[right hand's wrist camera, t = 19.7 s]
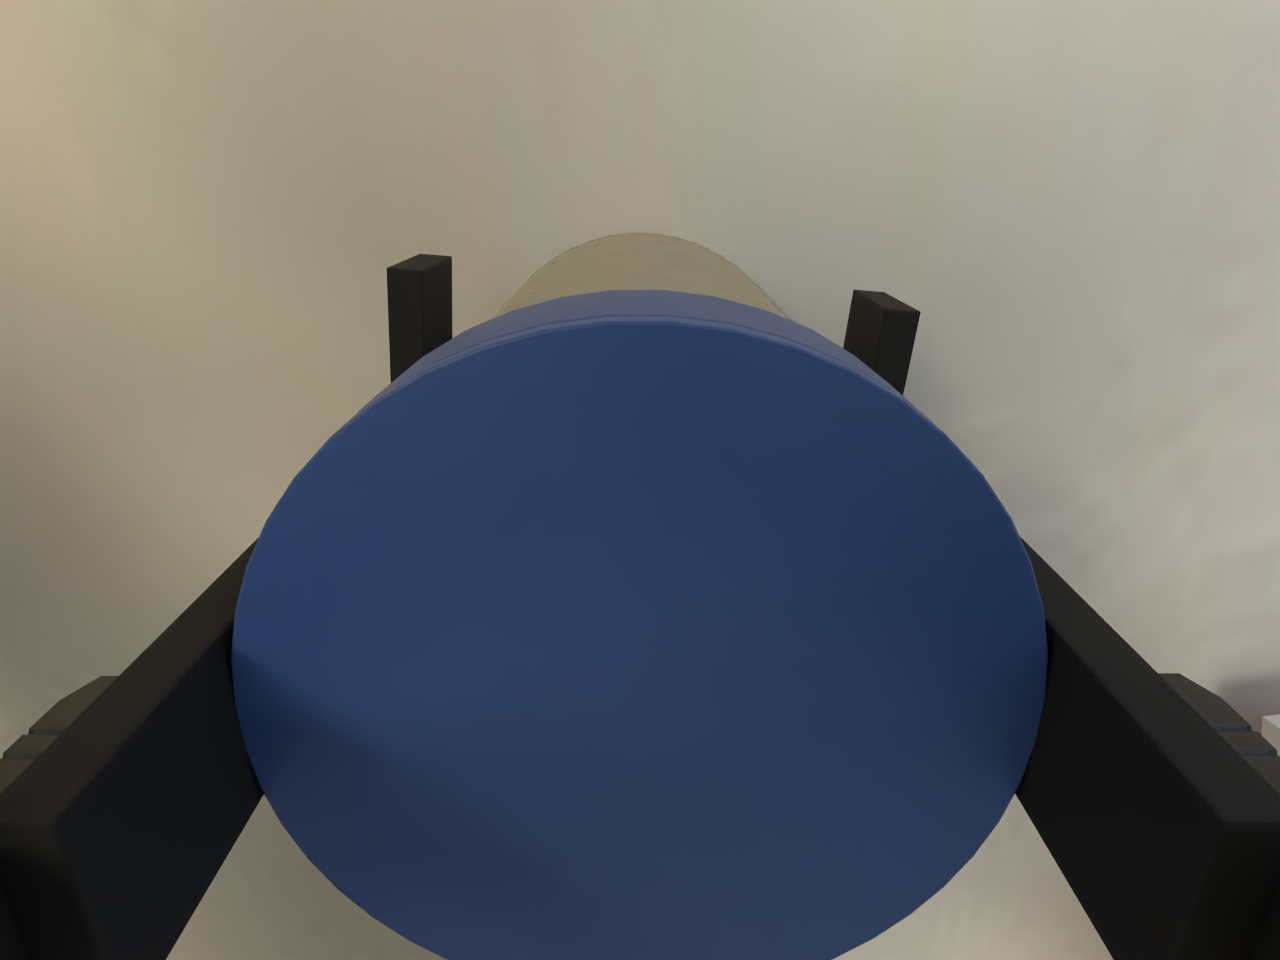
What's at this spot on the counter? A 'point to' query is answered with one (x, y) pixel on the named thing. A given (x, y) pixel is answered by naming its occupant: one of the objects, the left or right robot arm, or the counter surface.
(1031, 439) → the counter surface
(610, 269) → the jar
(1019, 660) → the lid
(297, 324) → the counter surface
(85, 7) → the counter surface
